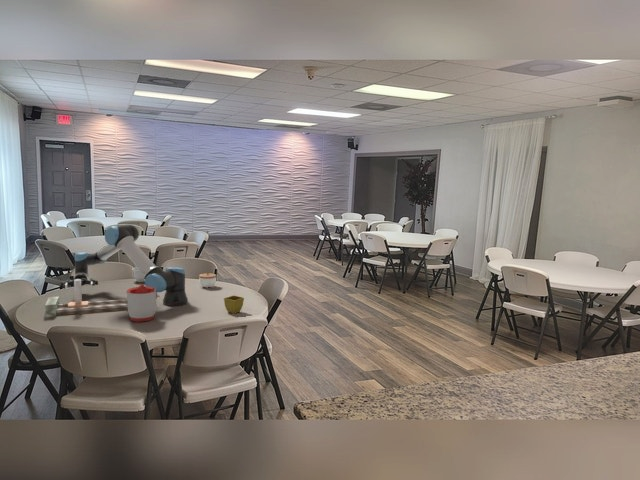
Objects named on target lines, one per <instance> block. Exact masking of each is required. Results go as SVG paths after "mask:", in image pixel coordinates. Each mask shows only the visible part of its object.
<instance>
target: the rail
mask: <svg viewBox="0 0 640 480" xmlns="http://www.w3.org/2000/svg"><path fill="white" fill-rule="evenodd" d="M68 304H69V303H60V296H49V297H47V301H46V302H45V305H44V317H45V318H56V317H57V316H56V315H58V316H68V315H81V314H93V313H94V314H95V313H105V312H116V311H117V312H118V311H128V306H127V298H125V299H114V300H113V299H112V300H99V301H88V307H82V308H68Z"/></svg>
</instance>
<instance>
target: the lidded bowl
mask: <svg viewBox="0 0 640 480" xmlns="http://www.w3.org/2000/svg"><path fill="white" fill-rule="evenodd" d="M198 280H199V285H201V287H202V288H203V287H212V288H213V287H214V286H215V285H216V283H217V274H215V273H211V272H210V273H209V272H206V273H205V272H204V273H200V274H199V275H198Z"/></svg>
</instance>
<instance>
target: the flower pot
mask: <svg viewBox="0 0 640 480" xmlns="http://www.w3.org/2000/svg"><path fill="white" fill-rule="evenodd" d="M244 300H245V298H244V296H238V295H230V296H226V297H224V298H223V302H224V308H225V310H226V311H227V313H231V314H237V313H240V312H241V311H242V308H243V305H244V302H245V301H244Z"/></svg>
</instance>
